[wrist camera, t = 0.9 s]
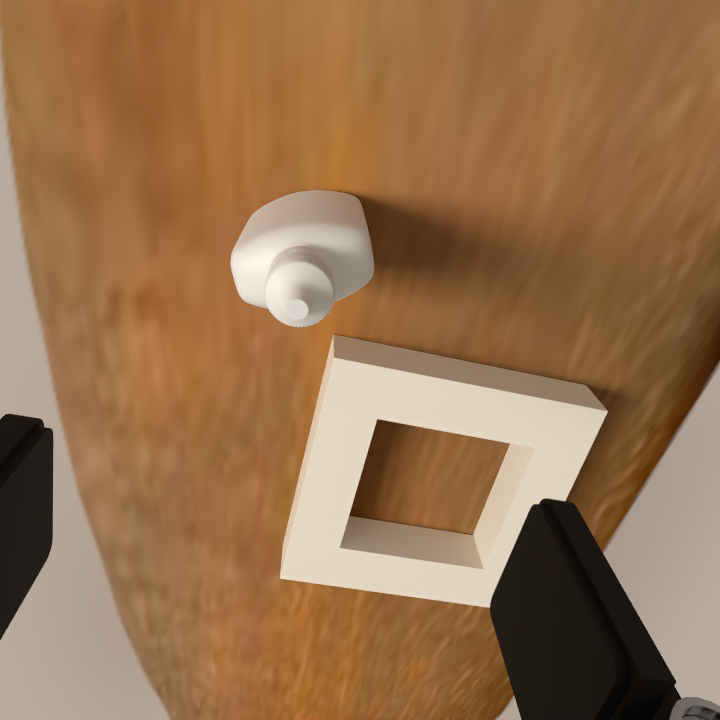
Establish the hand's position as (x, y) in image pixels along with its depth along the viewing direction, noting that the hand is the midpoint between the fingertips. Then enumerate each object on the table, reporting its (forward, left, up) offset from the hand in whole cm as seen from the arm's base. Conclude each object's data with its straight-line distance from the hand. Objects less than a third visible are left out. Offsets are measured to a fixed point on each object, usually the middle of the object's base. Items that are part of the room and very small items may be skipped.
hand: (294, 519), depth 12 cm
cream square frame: (+12, +9, -21) cm, 26 cm away
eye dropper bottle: (-1, -1, -21) cm, 21 cm away
